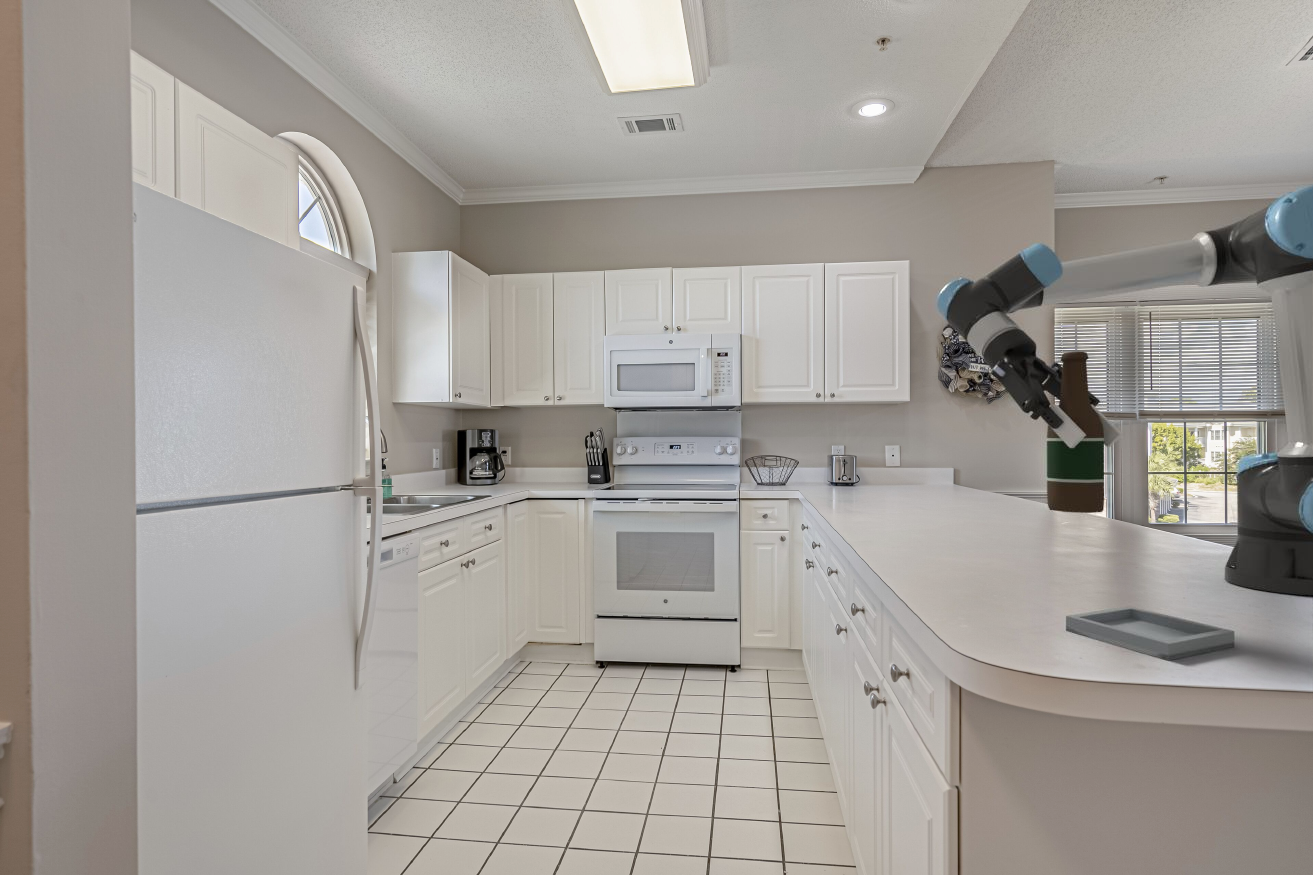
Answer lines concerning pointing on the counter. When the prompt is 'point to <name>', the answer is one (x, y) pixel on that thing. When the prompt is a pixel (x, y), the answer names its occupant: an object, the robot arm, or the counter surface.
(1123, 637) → the keeper tray
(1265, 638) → the counter surface
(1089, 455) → the beer bottle
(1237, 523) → the robot arm
